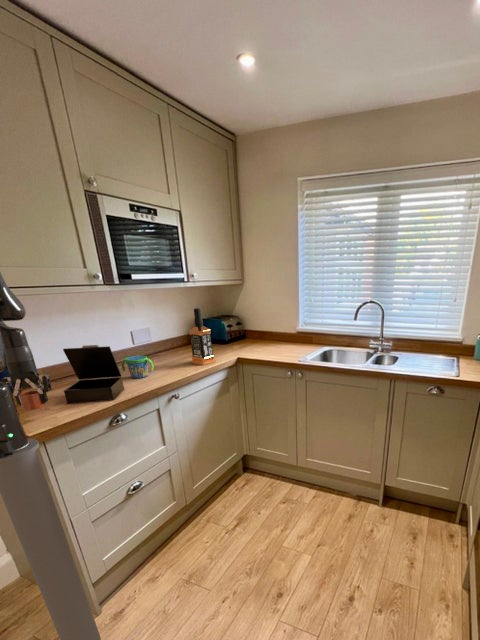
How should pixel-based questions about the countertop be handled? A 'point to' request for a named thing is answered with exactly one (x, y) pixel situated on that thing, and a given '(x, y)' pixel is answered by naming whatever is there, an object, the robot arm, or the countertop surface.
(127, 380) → the countertop surface
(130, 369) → the snack cup
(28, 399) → the orange clay pot
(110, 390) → the black box base
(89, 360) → the lid
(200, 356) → the whiskey bottle
